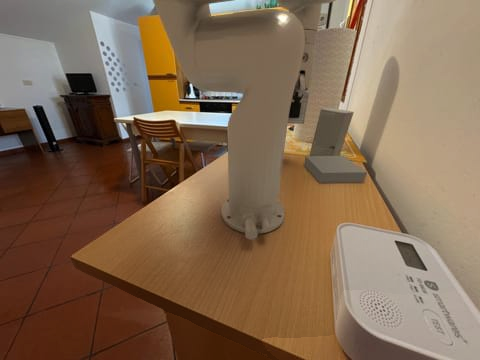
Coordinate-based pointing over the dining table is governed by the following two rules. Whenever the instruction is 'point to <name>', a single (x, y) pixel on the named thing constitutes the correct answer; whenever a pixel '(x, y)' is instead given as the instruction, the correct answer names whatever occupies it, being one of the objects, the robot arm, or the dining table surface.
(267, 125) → the robot arm
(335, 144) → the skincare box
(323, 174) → the grey base
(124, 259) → the dining table surface
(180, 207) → the dining table surface
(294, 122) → the medicine box
